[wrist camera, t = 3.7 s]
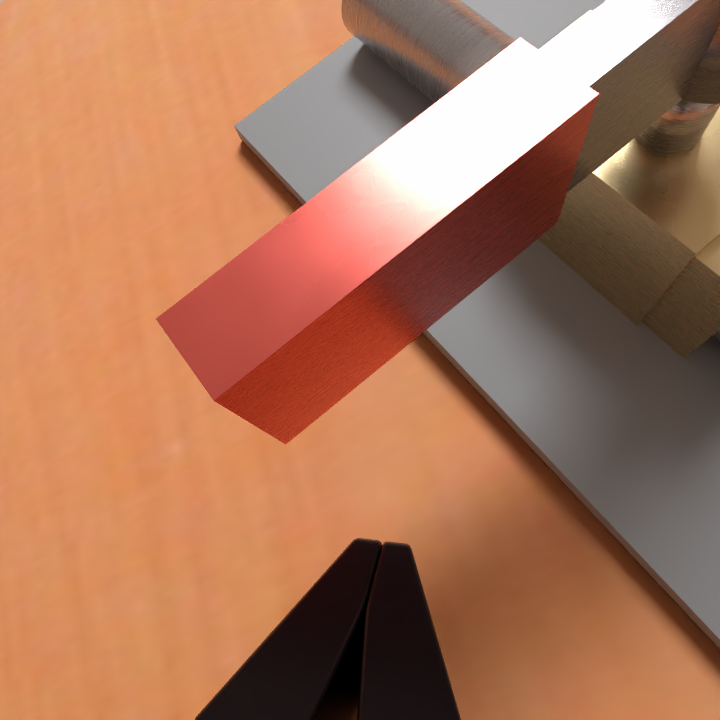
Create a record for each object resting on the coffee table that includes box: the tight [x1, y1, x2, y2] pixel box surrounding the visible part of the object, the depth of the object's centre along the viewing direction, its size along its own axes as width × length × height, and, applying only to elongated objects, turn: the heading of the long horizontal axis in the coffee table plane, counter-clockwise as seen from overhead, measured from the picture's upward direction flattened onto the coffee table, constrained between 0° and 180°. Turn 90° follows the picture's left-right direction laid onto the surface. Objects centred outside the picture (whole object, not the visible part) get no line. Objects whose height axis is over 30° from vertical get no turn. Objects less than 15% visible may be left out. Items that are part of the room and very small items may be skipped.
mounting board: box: [235, 0, 720, 649], centre depth 18 cm, size 26×14×1 cm, turn 39°
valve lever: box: [156, 0, 720, 444], centre depth 10 cm, size 13×3×3 cm, turn 129°
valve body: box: [342, 0, 720, 358], centre depth 15 cm, size 25×4×6 cm, turn 38°
